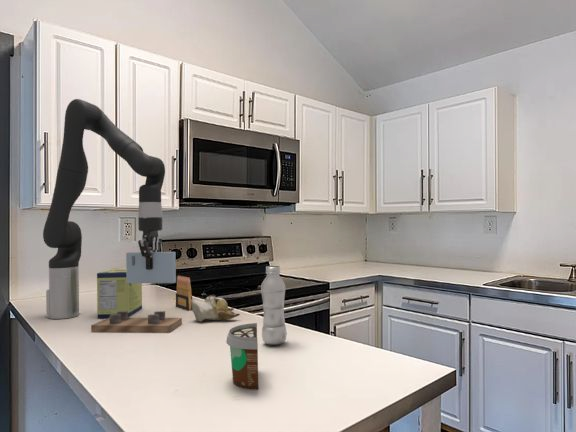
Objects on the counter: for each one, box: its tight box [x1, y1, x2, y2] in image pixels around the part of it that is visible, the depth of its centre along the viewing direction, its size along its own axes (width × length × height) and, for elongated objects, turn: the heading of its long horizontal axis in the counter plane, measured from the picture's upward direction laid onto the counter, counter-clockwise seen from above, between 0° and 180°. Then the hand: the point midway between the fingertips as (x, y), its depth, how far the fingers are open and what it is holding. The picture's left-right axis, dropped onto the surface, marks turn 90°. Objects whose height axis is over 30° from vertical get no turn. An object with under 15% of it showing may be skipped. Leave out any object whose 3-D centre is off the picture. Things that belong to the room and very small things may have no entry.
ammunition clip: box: [175, 275, 193, 312], centre depth 155 cm, size 11×2×12 cm, turn 39°
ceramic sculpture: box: [191, 294, 241, 323], centre depth 136 cm, size 11×9×15 cm
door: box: [125, 251, 177, 284], centre depth 137 cm, size 16×3×10 cm, turn 84°
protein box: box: [96, 267, 143, 320], centre depth 148 cm, size 10×16×16 cm
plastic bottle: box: [260, 265, 288, 346], centre depth 107 cm, size 6×7×20 cm
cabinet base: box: [90, 310, 183, 334], centre depth 127 cm, size 24×10×4 cm, turn 84°
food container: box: [226, 322, 259, 390], centre depth 83 cm, size 12×6×10 cm, turn 5°
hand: (150, 268), depth 137 cm, fingers closed on door, 2 cm apart
